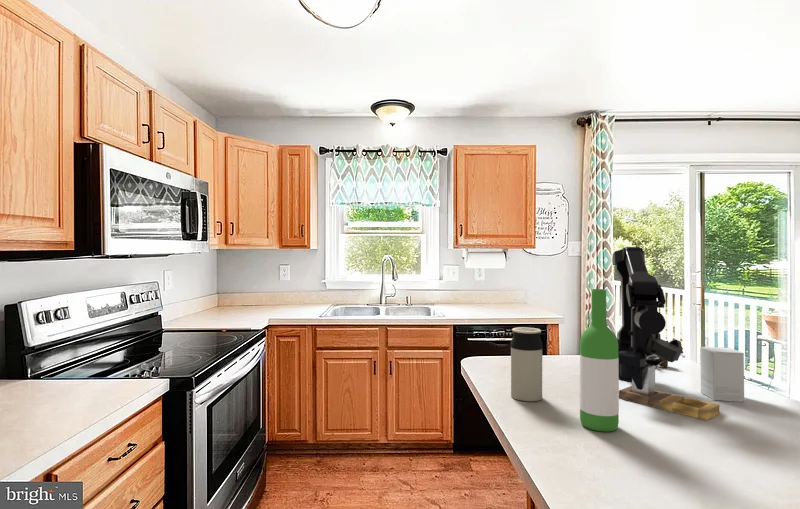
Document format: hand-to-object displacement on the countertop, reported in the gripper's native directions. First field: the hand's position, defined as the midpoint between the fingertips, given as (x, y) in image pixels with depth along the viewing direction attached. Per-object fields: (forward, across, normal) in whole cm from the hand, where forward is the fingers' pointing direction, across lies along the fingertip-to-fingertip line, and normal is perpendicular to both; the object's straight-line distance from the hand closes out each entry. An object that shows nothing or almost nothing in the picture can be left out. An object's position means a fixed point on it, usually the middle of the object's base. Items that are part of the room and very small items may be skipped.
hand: (643, 387), depth 115 cm
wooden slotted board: (+3, 0, -6) cm, 6 cm away
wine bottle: (+3, -27, -2) cm, 27 cm away
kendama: (+4, +42, +17) cm, 46 cm away
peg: (+3, 0, 0) cm, 3 cm away
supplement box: (+3, +19, -12) cm, 22 cm away
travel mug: (+3, -23, +20) cm, 30 cm away
